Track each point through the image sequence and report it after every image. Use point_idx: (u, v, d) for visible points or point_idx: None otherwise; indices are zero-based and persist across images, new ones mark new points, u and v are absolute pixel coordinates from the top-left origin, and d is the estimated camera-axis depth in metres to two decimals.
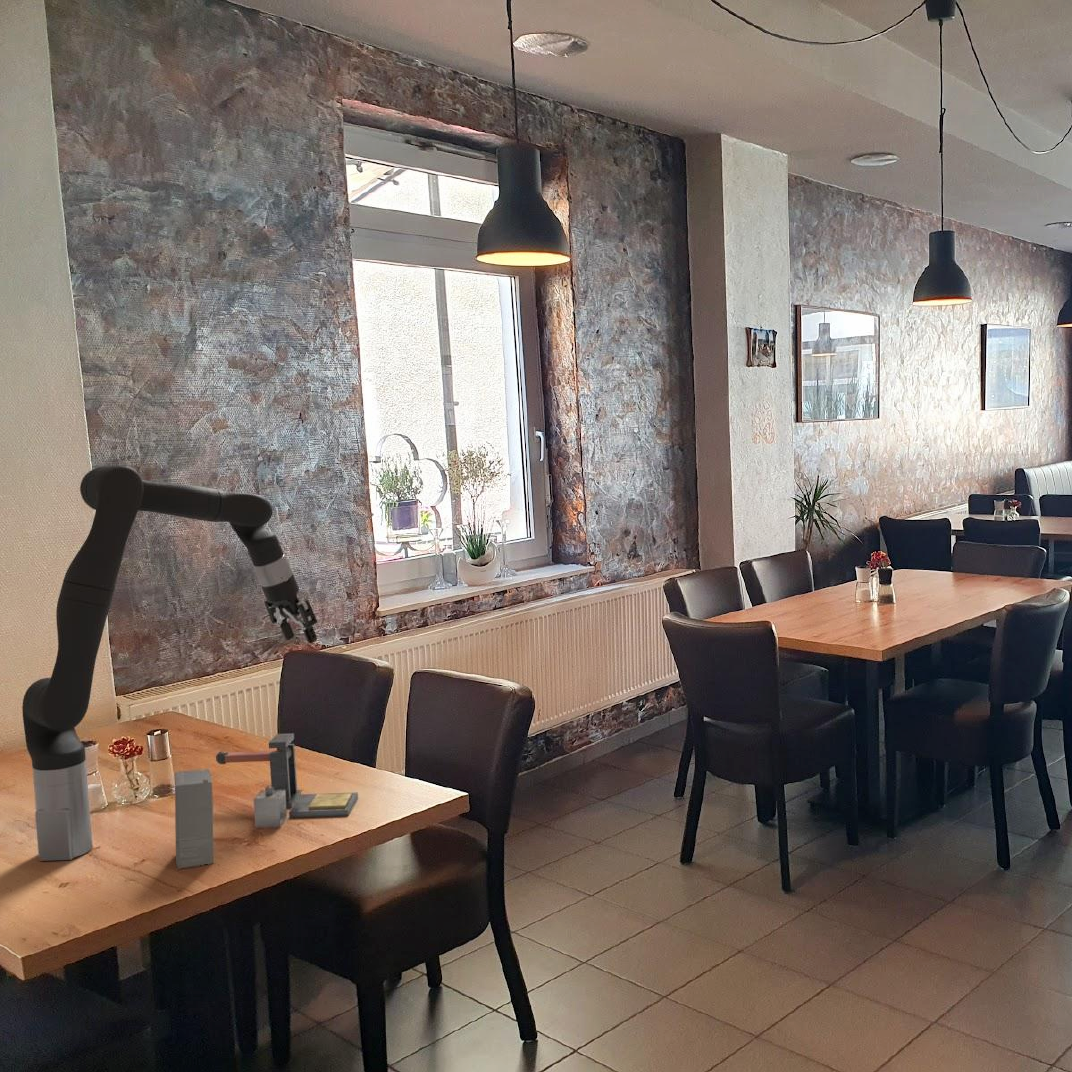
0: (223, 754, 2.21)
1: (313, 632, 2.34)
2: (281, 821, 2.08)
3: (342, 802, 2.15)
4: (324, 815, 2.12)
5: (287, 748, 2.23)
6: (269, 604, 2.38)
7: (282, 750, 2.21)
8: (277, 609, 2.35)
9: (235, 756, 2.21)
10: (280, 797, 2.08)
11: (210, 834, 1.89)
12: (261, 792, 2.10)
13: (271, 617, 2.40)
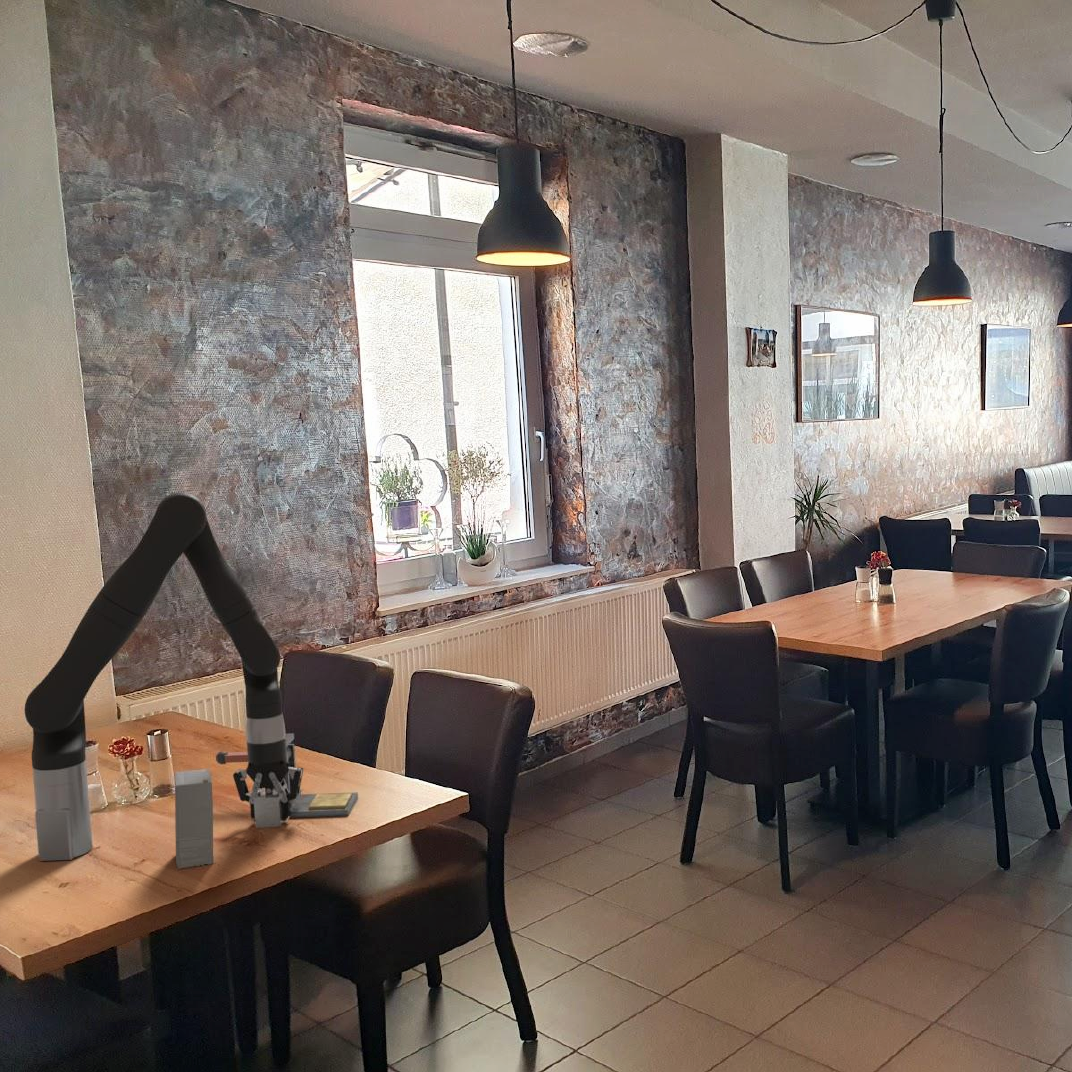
0: (223, 754, 2.21)
1: (289, 807, 2.10)
2: (281, 821, 2.08)
3: (342, 802, 2.15)
4: (324, 815, 2.12)
5: (287, 748, 2.23)
6: (240, 776, 2.08)
7: None
8: (258, 775, 2.07)
9: (235, 756, 2.21)
10: (280, 797, 2.08)
11: (210, 834, 1.89)
12: (261, 792, 2.10)
13: (241, 793, 2.08)
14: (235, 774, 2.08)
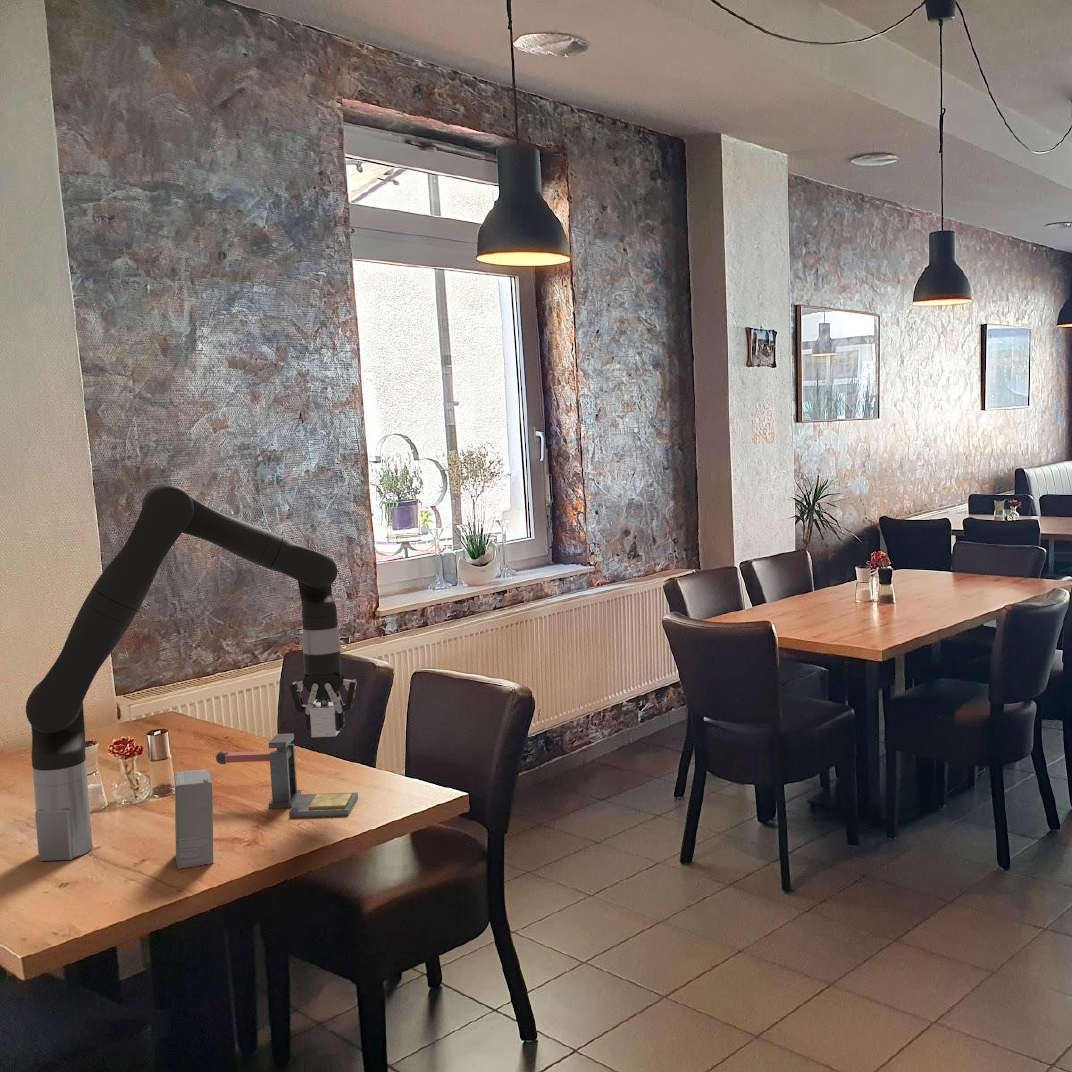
0: (223, 754, 2.21)
1: (344, 718, 2.16)
2: (336, 731, 2.14)
3: (342, 802, 2.15)
4: (324, 815, 2.12)
5: (287, 748, 2.23)
6: (296, 687, 2.14)
7: (282, 750, 2.21)
8: (314, 686, 2.13)
9: (235, 756, 2.21)
10: (335, 707, 2.14)
11: (210, 834, 1.89)
12: (316, 703, 2.16)
13: (298, 704, 2.14)
14: (292, 685, 2.14)
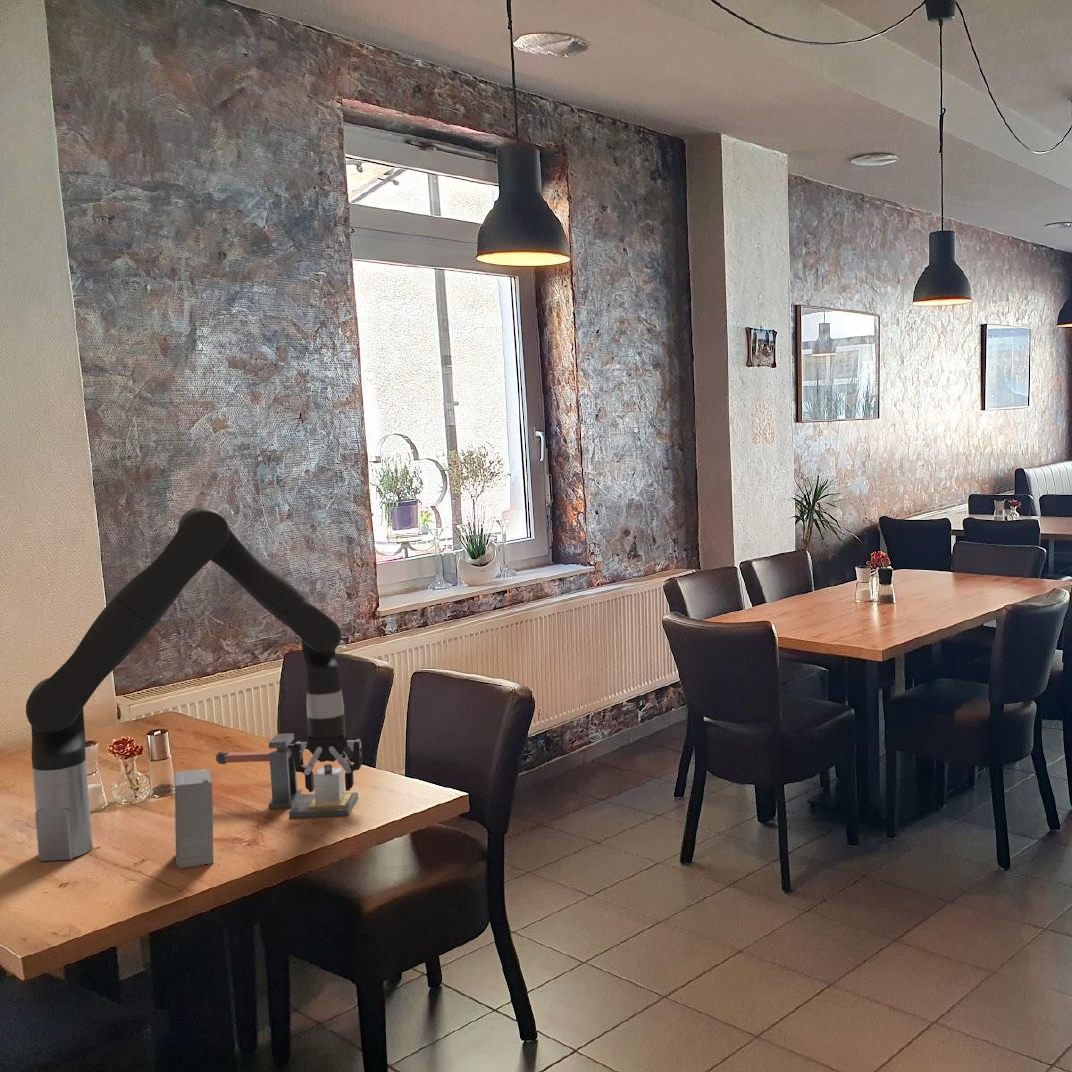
0: (223, 754, 2.21)
1: None
2: (340, 797, 2.15)
3: (342, 802, 2.15)
4: (324, 815, 2.12)
5: (287, 748, 2.23)
6: (299, 748, 2.15)
7: (282, 750, 2.21)
8: (318, 749, 2.14)
9: (235, 756, 2.21)
10: (339, 774, 2.15)
11: (210, 834, 1.89)
12: (320, 770, 2.17)
13: (297, 764, 2.15)
14: (295, 745, 2.15)
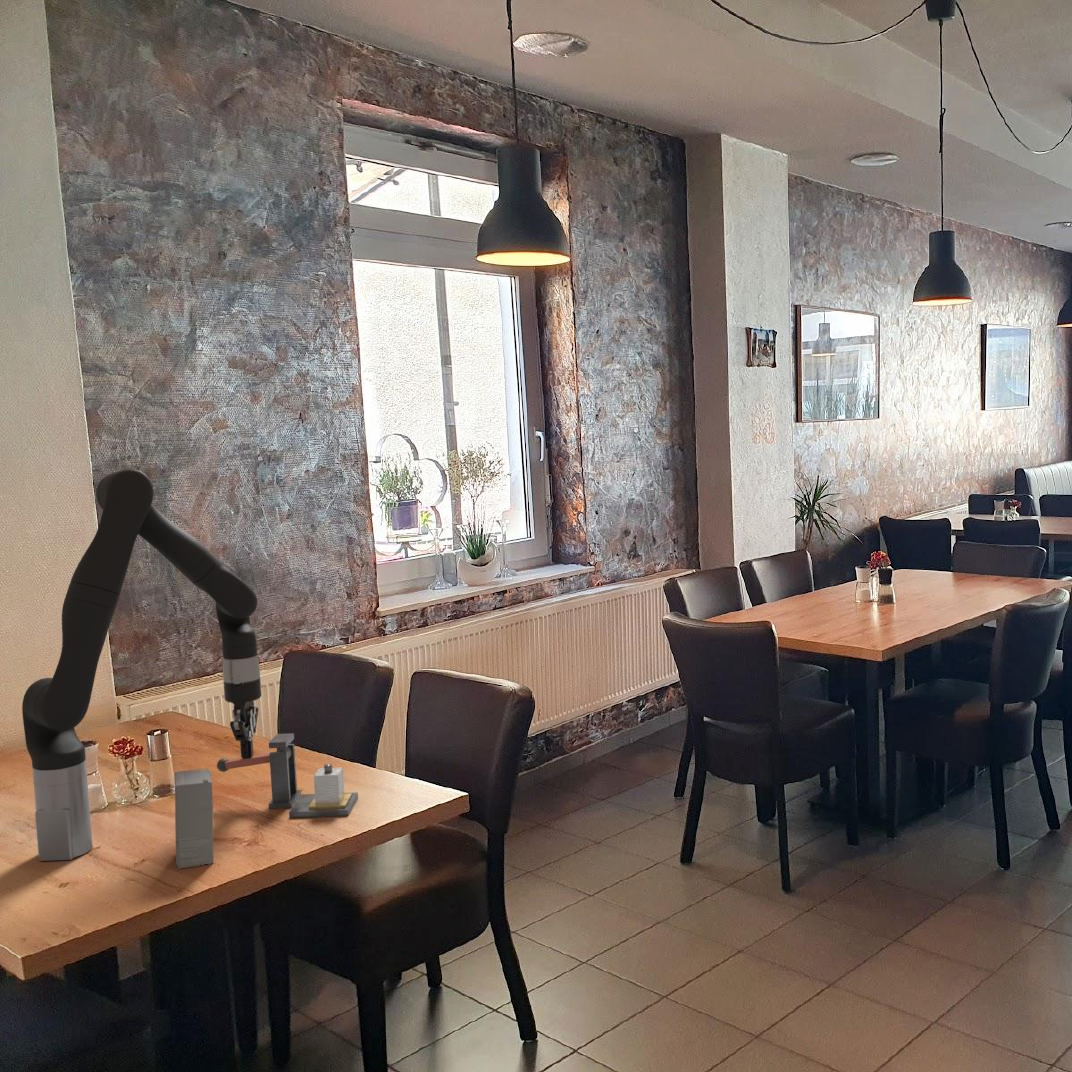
0: (223, 761, 2.21)
1: (246, 748, 2.20)
2: (340, 797, 2.15)
3: (342, 802, 2.15)
4: (324, 815, 2.12)
5: (286, 748, 2.23)
6: None
7: (281, 750, 2.21)
8: None
9: (236, 761, 2.21)
10: (339, 774, 2.15)
11: (210, 834, 1.89)
12: (320, 770, 2.17)
13: None
14: None
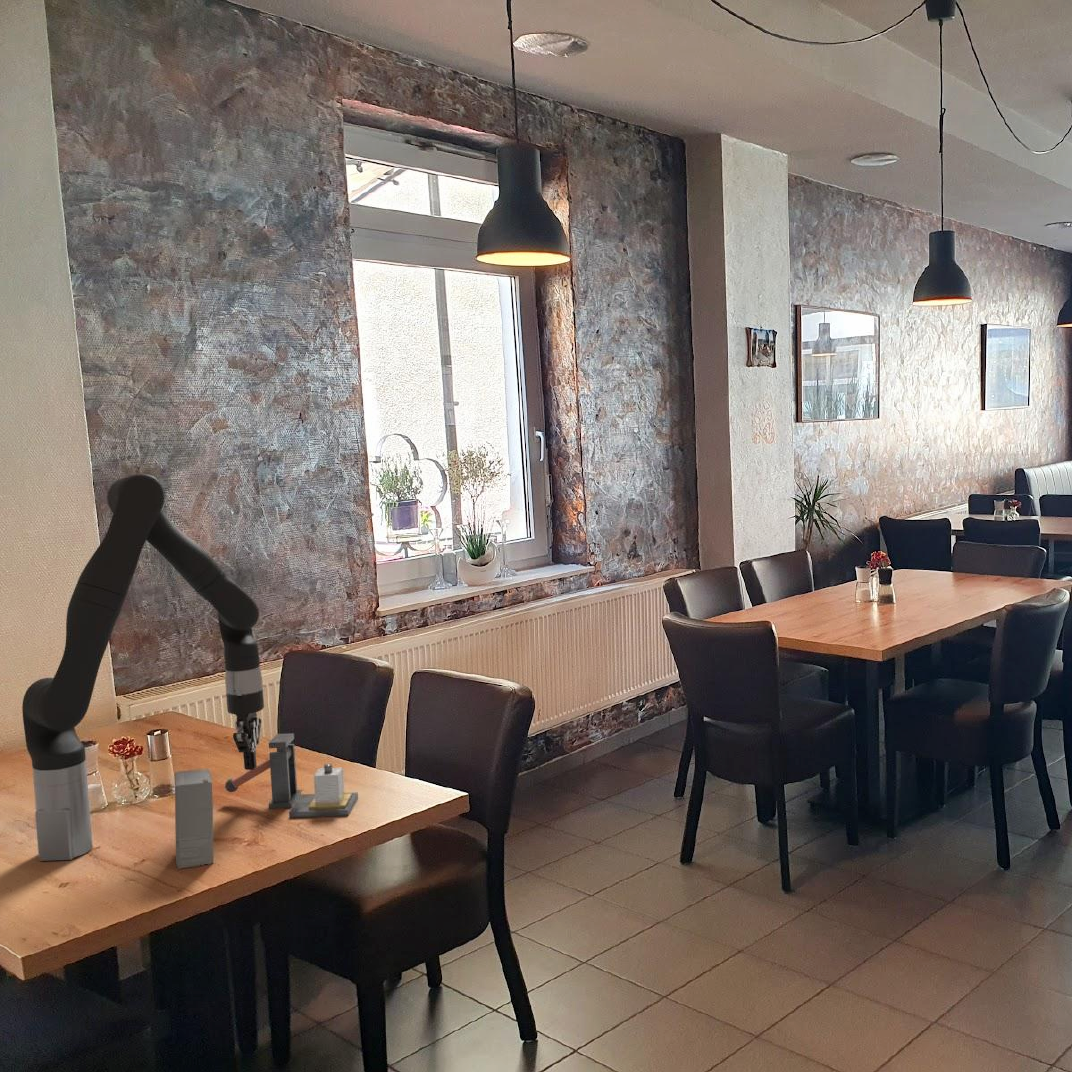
0: (230, 781, 2.21)
1: (249, 760, 2.21)
2: (340, 797, 2.15)
3: (342, 802, 2.15)
4: (324, 815, 2.12)
5: None
6: None
7: (279, 750, 2.21)
8: None
9: (241, 777, 2.21)
10: (339, 774, 2.15)
11: (210, 834, 1.89)
12: (320, 770, 2.17)
13: None
14: None
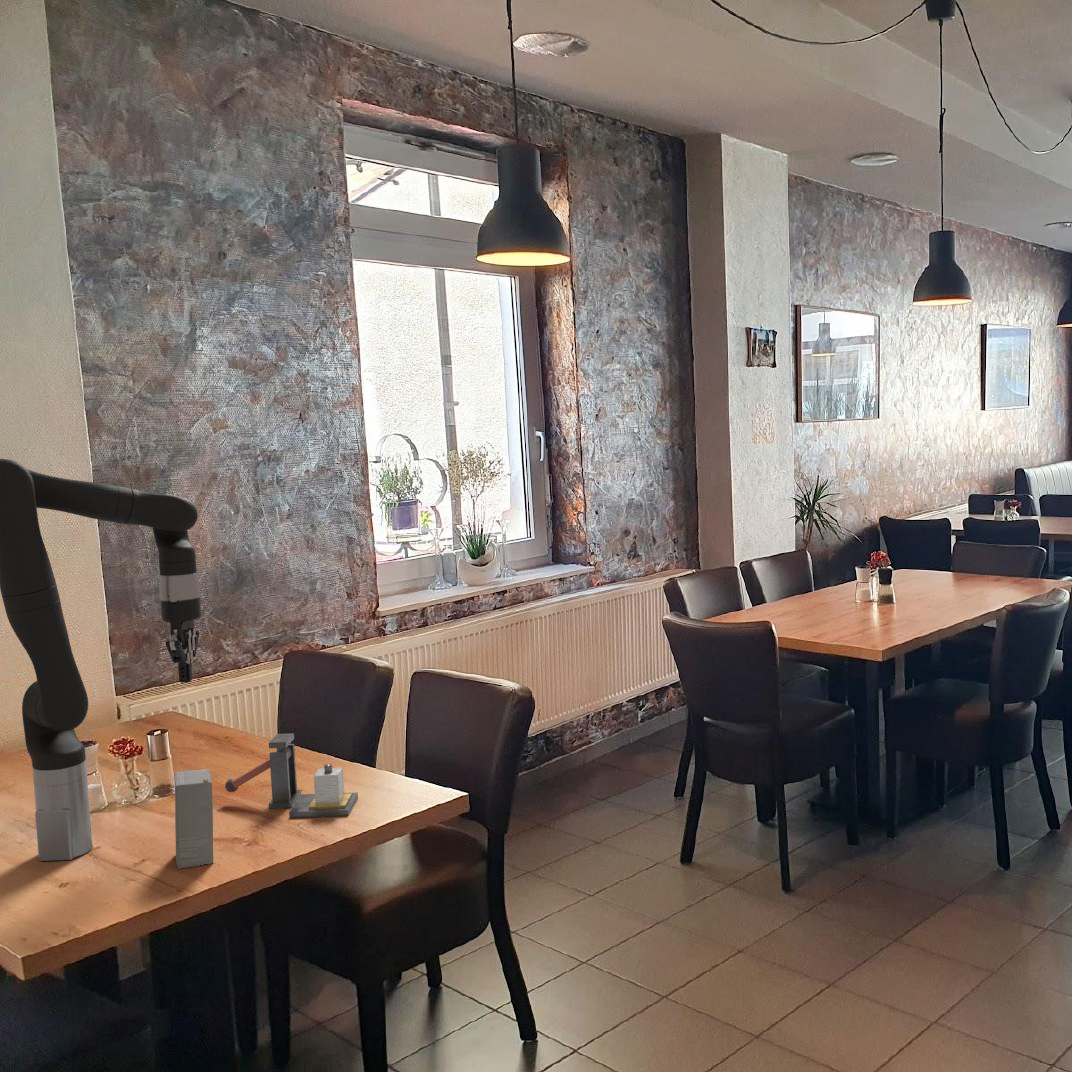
0: (230, 782, 2.21)
1: (184, 671, 2.08)
2: (340, 797, 2.15)
3: (342, 802, 2.15)
4: (324, 815, 2.12)
5: None
6: None
7: (279, 750, 2.21)
8: None
9: (241, 777, 2.21)
10: (339, 774, 2.15)
11: (210, 834, 1.89)
12: (320, 770, 2.17)
13: None
14: None
